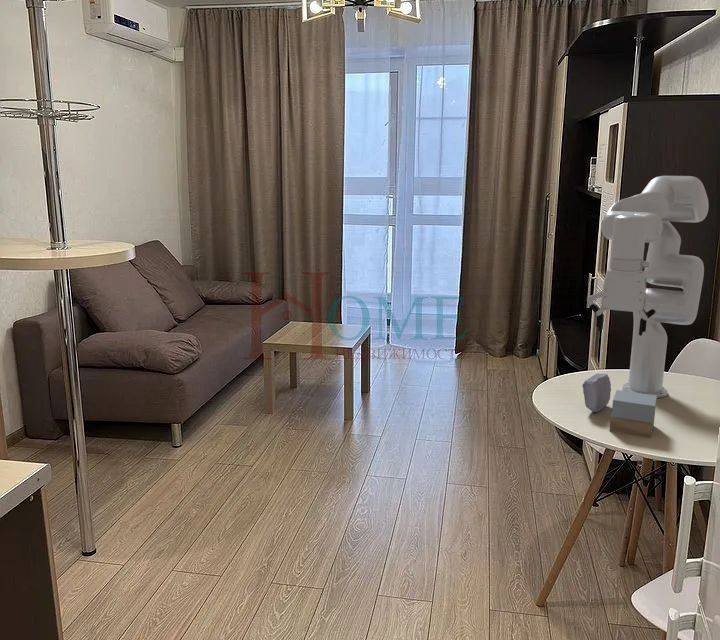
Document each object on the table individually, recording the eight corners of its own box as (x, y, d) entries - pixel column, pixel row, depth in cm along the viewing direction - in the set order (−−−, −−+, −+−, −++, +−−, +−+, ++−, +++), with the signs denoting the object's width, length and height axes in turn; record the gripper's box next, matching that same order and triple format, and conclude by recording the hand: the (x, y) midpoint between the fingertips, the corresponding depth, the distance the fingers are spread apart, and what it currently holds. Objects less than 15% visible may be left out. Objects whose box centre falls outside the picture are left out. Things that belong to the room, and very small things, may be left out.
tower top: (615, 405, 189) (616, 389, 188) (655, 411, 185) (656, 395, 184) (611, 416, 181) (613, 400, 180) (653, 422, 177) (654, 406, 176)
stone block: (594, 402, 204) (596, 369, 202) (610, 406, 201) (613, 373, 199) (577, 414, 195) (580, 379, 193) (594, 418, 192) (597, 383, 190)
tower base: (613, 421, 190) (615, 405, 189) (653, 427, 186) (655, 411, 185) (609, 432, 183) (610, 416, 182) (650, 439, 178) (652, 422, 177)
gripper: (665, 265, 173) (658, 332, 177) (592, 261, 180) (587, 325, 184) (663, 270, 167) (656, 339, 170) (587, 265, 174) (582, 332, 178)
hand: (620, 332), depth 177 cm, fingers open, 9 cm apart
